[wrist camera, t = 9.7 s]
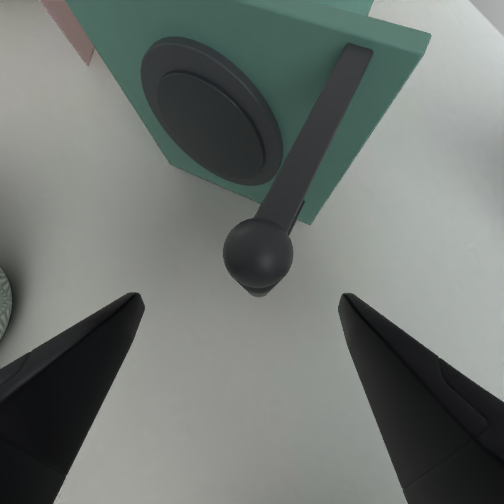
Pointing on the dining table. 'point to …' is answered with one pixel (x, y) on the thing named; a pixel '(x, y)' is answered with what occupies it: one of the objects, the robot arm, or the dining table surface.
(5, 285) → the planter
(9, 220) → the dining table surface
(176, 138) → the washer door
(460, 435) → the robot arm
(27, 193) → the dining table surface
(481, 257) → the dining table surface
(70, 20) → the greeting card
